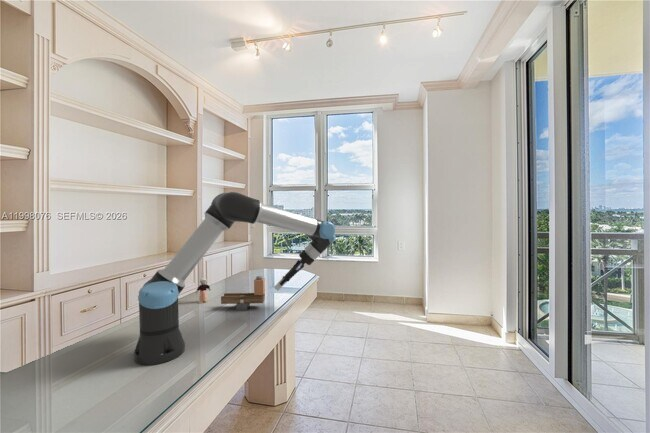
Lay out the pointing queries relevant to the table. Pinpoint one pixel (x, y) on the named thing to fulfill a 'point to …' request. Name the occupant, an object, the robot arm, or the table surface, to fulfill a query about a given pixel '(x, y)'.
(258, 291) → the rider
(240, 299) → the beam
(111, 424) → the table surface
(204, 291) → the grandmother figurine
